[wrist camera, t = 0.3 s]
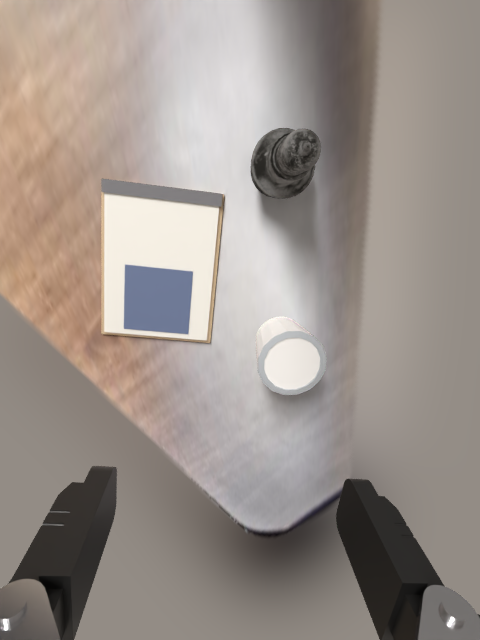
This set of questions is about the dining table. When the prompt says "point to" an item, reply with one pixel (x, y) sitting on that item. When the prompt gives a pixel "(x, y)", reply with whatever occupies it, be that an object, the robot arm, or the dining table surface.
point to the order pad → (158, 260)
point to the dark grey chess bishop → (285, 162)
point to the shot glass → (288, 357)
